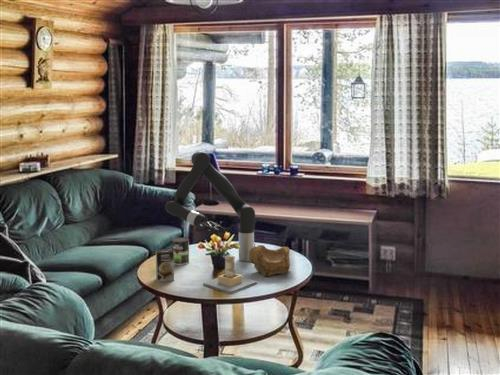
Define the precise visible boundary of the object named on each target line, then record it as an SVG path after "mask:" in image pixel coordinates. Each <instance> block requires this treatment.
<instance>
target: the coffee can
mask: <svg viewBox="0 0 500 375" xmlns="http://www.w3.org/2000/svg"><path fill="white" fill-rule="evenodd" d="M171 249H172V250H173V252H174V266H185V265H188V264H190V239H189V238H188V237H185V236H181V237H180V236H178V237H174V238H172V239H171Z"/></svg>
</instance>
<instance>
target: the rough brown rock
mask: <svg viewBox="0 0 500 375" xmlns="http://www.w3.org/2000/svg"><path fill="white" fill-rule="evenodd" d="M249 260H250V261H249V262H250V264H252V265H254V269H255V270H256V271H257V272H258V273H261V275H262V276H263V277H264V278H265V277H266V278H267V277H270V276H273V275H275V274H286V273H287V272H288V271H289V270H290V267H291V265H290V263H291V262H290V247H288V246H282V247H280V248H278V249H276V250H275V249H269V248H266V246H265V245H264V244H258V245H257V246H255V247H253V248H251V250H250V251H249Z"/></svg>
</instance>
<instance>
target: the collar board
mask: <svg viewBox="0 0 500 375" xmlns="http://www.w3.org/2000/svg"><path fill="white" fill-rule="evenodd" d="M257 284H258V280H254V279H250V278H248V277H244V276H243V275H242V274H239V273H235V277H234V278H231V279H230V278H227V277H225V273H223V274H221V275H218V276H217V277H216V278H213V279H211V280H208V281H207V280H206V281H205V282H203V284H202V285H203V286H204V287H208V288H211V289H214V290H218V291H221V292H224V293H227V294H231V295H233V294H235V293H238V292H240V291H242V290H244V289H247V288H249V287H252V286H254V285H257Z"/></svg>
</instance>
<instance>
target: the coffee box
mask: <svg viewBox="0 0 500 375" xmlns="http://www.w3.org/2000/svg"><path fill="white" fill-rule="evenodd" d="M155 271H156V272H155V275H156V276H155V277H156V281H157V282H158V283H160V282H161V283H163V282H164V283H165V282H172V281H175V264H174V252H173V250H172V248H169V249H155Z"/></svg>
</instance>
